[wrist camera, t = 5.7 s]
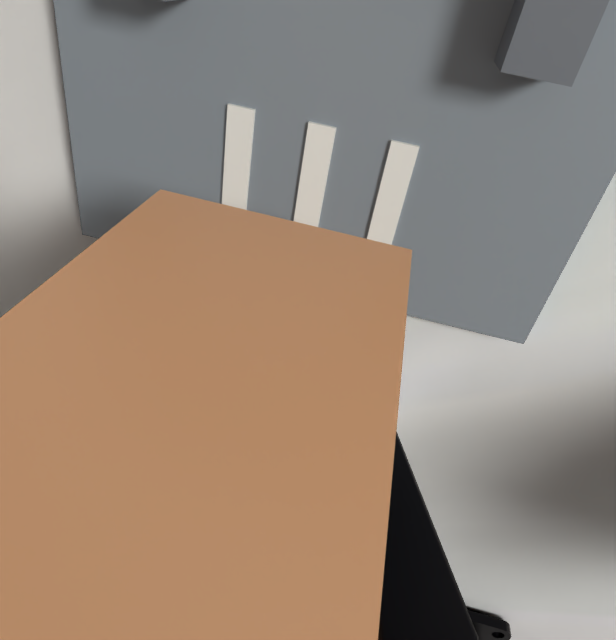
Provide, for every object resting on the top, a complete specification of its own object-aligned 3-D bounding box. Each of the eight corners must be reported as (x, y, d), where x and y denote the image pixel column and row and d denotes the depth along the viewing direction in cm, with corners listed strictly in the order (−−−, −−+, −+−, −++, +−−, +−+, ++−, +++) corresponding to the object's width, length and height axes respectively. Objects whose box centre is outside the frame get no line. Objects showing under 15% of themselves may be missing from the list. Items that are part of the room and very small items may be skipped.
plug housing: (353, 442, 12) (273, 897, 6) (161, 390, 12) (-87, 773, 6) (415, 250, 9) (372, 792, 3) (157, 188, 9) (-323, 569, 3)
